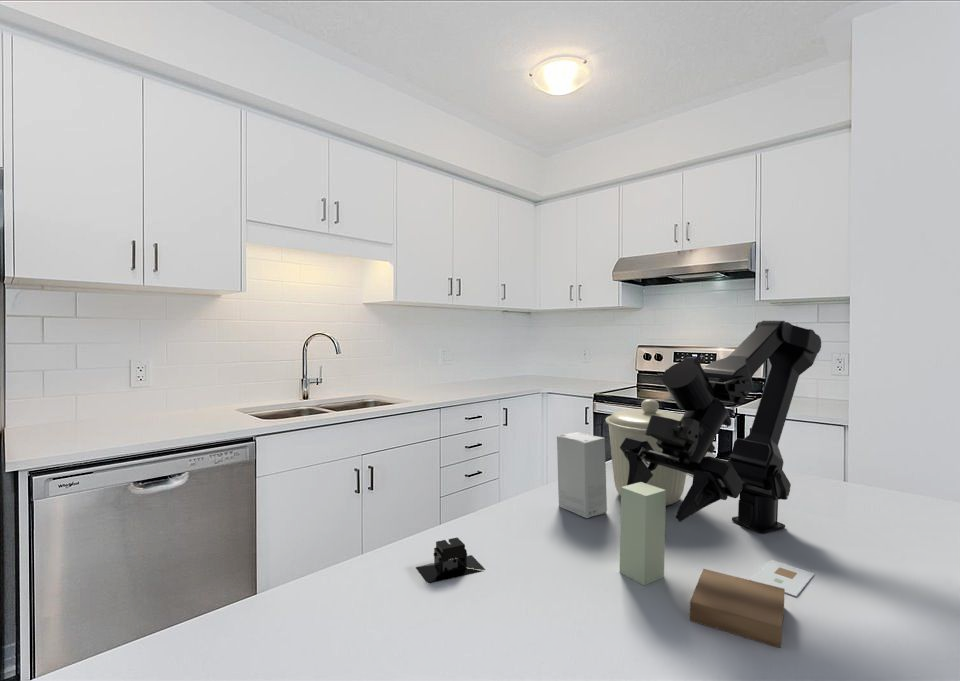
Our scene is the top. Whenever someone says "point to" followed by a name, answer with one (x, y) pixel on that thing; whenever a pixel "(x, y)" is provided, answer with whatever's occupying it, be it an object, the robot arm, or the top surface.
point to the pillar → (642, 532)
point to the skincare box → (582, 474)
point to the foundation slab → (739, 606)
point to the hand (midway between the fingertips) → (651, 509)
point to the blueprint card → (783, 577)
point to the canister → (636, 426)
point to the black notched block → (449, 562)
